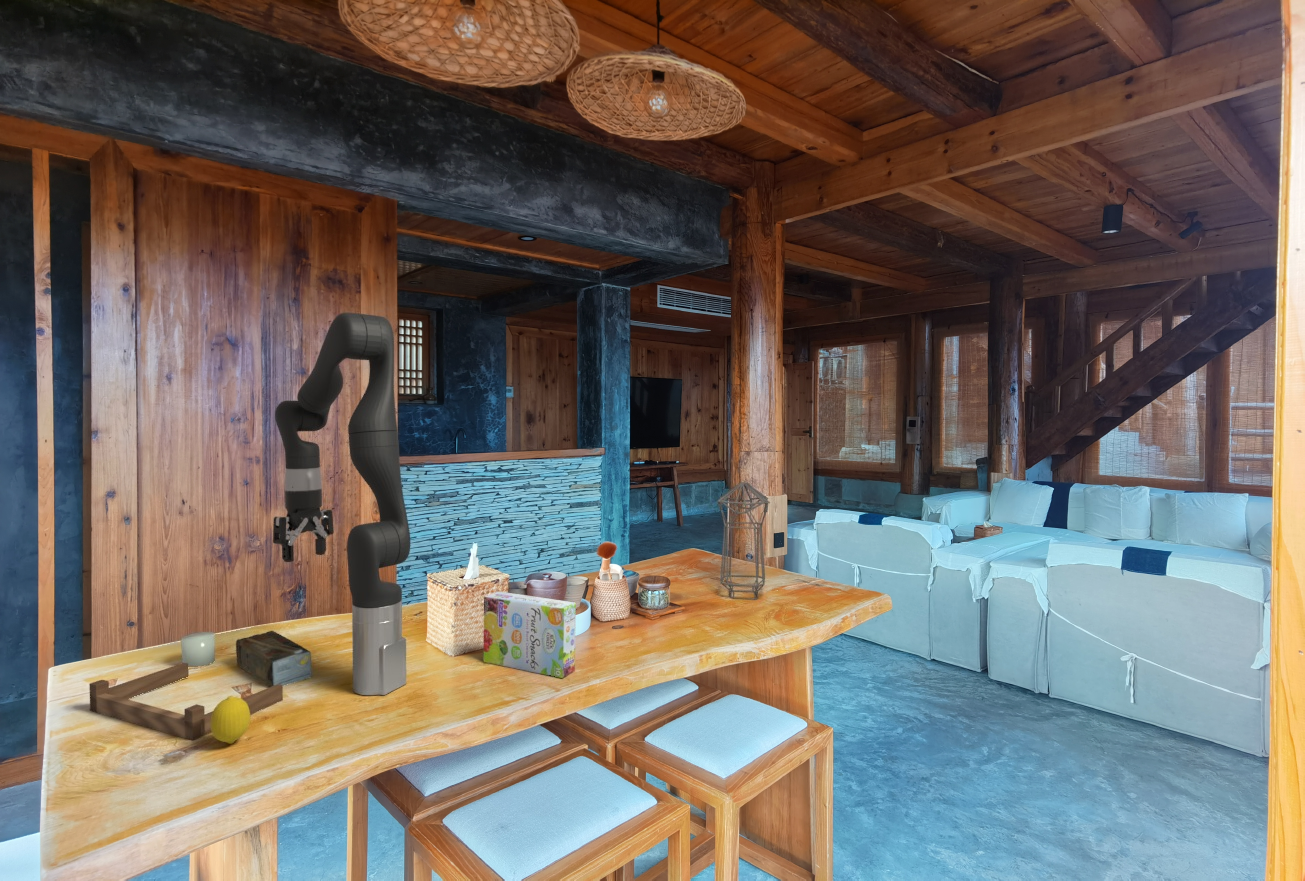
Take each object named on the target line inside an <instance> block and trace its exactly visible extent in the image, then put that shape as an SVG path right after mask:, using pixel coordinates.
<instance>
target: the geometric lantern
mask: <svg viewBox="0 0 1305 881" xmlns="http://www.w3.org/2000/svg"><path fill="white" fill-rule="evenodd" d="M737 490H738V493H737V496H736V498H735V497H730V496H732V495H733V493H735V492H736V491H737ZM749 491H750V492H751V493H752V494H753V495H754V496H755V497H753V498H751V495H750V493H749ZM745 492H746V493H745ZM746 494H747V497H748V499H746ZM732 500H733V501H732ZM753 500H754V501H755V500H757V501H755V502H753ZM749 502H750V503H749ZM770 503H771V502H770V501H769V498H768V497H767V496H766V495H764V494H763V493H762V492H760V491H759V490H757V488H755V487H753V486H752V485H751V484H750V483H749V482H745V481H742V482H739V483H738V484H736V485H734V487H732V488H731V489H729V490H727V492H725V493H723V495H721V496H720V497H719V499H718V500H717V505H718V507H719V510H720V512H721V516H722V521H723V538H722V550H721V553H722V554H721V563H720V564H721V565H720V582H719V583H720V585H722V586H723V587H724V588H726V589H727V590H728V591H729V599H735V600H756V601H757V599H759V591H760V590H762V588H763V587H764V586H765V583H766V572H765V571H766V570H765V569H766V568H765V557H764V556H765V555H764V540H763V539H764V538H763V525H764V524H763V523H764V520H765V516H766V514H767V513H768V510H769V504H770ZM728 504H732V505H734V507H735V509H733V508H732V507H730V505H728ZM723 505H724V506H725V507H726V508H728V509H729V510H730V511H732V512H733V515H732V516H731V518H730V520H729V521H728V520H727V518H726V516H725V513H724V510H723V509H724V508H723ZM761 505H764V507H763V511H762V512H761V513H760V514H761V515H760V517H759V521H758V522H757V519H756V518H755V517H754V515H753V513H752V511H753V510H755V509H757V508H758V507H760V506H761ZM747 506H748V507H747ZM742 509H743V510H744V511H741V510H742ZM740 514H741V515H742V514H747V516H748V518H749V519H750V522H742V521H740V522H739V521H735V520H736V518H737V517H738V515H740ZM751 516H752V517H751ZM752 518H753V519H752ZM734 524H749V525H753V526H752V527H749V526H747V527H746V526H734ZM729 525H730V526H729ZM729 529H730V542H729ZM733 529H749V530H750V529H753V535H754V540H753V541H754V556H755V561H754V562H755V575H745V574H744V575H743V574H731V572H732V553H733V552H732V550H733ZM759 549H760V550H759ZM759 552H760V554H759ZM759 563H760V565H761V575H759V574H760V573H759V571H760V570H759V568H760V567H759V566H760V565H759ZM725 573H726V574H725ZM732 578H756V579H755V581H754V583H753V584H745V583H744V584H743V583H733V581H732ZM759 579H761V581H760V582H759ZM724 580H725V582H724ZM729 580H730V582H729ZM734 587H751V588H752V590H738V589H737V590H734ZM735 593H753V594H754V597H736V596H735Z"/></svg>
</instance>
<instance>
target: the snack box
mask: <svg viewBox="0 0 1305 881" xmlns="http://www.w3.org/2000/svg"><path fill="white" fill-rule="evenodd" d="M576 605H577V603H576V602H575V601H574V602H573V601H567V600H559V599H553V598H547V597H546V598H545V597H542V596H541V597H540V596H534V595H533V596H532V595H527V594H518V593H514V592H513V593H511V592H505V591H495V592H493V593H490V594H487V595H485V596H484V597H483V658H482V659H483V662H484V663H488V664H493V665H498V666H502V667H507V668H511V669H517V670H522V671H525V672H530V673H535V674H539V675H540V674H541V675H545V676H549V675H551V676H550V677H554V676H555V678H558V679H564V678H565V677H567V676H568V675H570V674H572V673H573V671H574V672H575V670H576V620H577V619H576V615H577V614H576V612H577V611H576V610H577V609H576V608H577V607H576ZM571 672H572V673H571ZM566 675H567V676H566Z"/></svg>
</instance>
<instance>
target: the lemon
mask: <svg viewBox="0 0 1305 881" xmlns="http://www.w3.org/2000/svg"><path fill="white" fill-rule="evenodd" d="M212 711H213V713H212V717H211V731H212V732H211V733H212V735H213V737H214V738H215V739H216V740H218V741H220V742H222V743H224V742H225V743H227V744H229V745H232V744H234V743H235V742H236V740H239V739H240V738H242V736H244V735H245V733H247V730H248V729H249V725H250V722H251V715H250V711H249V707H248V705H247V703H246V702H245V701H244V700H243V698H241V697H238V696H237V697H236V696H233V695H230V696H227V697H226V698H224V699H223V700H221V701H220V702H218V704H217V705H216V706H215V707H214V709H213V710H212Z"/></svg>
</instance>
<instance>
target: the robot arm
mask: <svg viewBox="0 0 1305 881" xmlns="http://www.w3.org/2000/svg"><path fill="white" fill-rule="evenodd" d="M346 359H350V360H361V361H368V363H369V364H368V365H369V376H368V383H367V387H366V389H365V391H364V393H363V395H362V397H361V398H360V401H358V404H357V405H356V407H355V409H354V410H353V413H352V414H351V417H350V419H349V422H348V424H347V425H348V426H347V431H348V432H347V433H348V446H349V456H350V460H351V462H352V464H353V466H354V467H355V469H356V470H357V472H358V474H359V475H360V476H361V478H362V479H363V480H364V482H365V483H366V484H367V485H368V487H369V489H370V490H371V491H372V493H373V495H374V497H375V500H376V503H377V507H378V513H379V521H373V522H367V523H362V524H357V525H355V526H353V527H352V528H351V530H350V532H348V533H349V534H348V536H347V541H346V557H347V558H346V560H347V569H348V570H347V572H348V573H347V575H348V586H349V591H350V594H351V604H352V605H351V606H352V608H351V609H352V610H351V611H352V612H351V613H352V614H351V615H352V618H351V619H352V622H351V623H352V625H351V626H352V627H351V628H352V632H351V633H352V637H351V638H352V690H353V692H354V693H355V694H358V695H361V696H362V695H363V696H375V695H380V696H381V695H382V696H386V695H387V694H389V693H391V692H393V691H395V690H397V689H398V688H401V687H403V686H406V685H407V638H406V637H403V590H402V587H401V585H400V584H398V583H394V582H391V581H384V580H381V577H380V569H383V568H387V567H392V566H396V565H401V564H403V563H404V562H405V561H407V559H408V558H409V555H410V552H411V532H410V527H409V526H410V524H409V519H408V515H407V509H406V504H405V499H404V493H403V483H402V476H401V474H402V473H401V464H400V463H401V462H400V444H399V443H400V442H399V432H398V431H399V430H398V422H397V415H396V404H395V403H396V402H395V398H396V397H395V336H394V330H393V327H392V324H391V323H390V321H389V320H388V319H387V318H386V317H385V316H380V315H374V314H367V313H360V312H359V313H356V312H341V313H340V314H338V315H336V316H335V317H334V319H333V320H332V322H331V324H330V325H329V328H328V330H327V332H326V335H325V337H324V340H323V343H322V345H321V348H320V350H319V352H318V356H317V359H316V361H315V364H314V367H313V368H312V370H311V372H310V374H308V375H309V376H307V378H306V380H305V381H304V382H303V384H302V386H301V387H300V388H299V390H298V392H297V396H296V397H297V398H296V400H283V401H281V402H280V403H279V404H277V406H276V408H275V412H274V418H275V423H276V425H277V430H278V432H279V434H280V438H281V441H282V444H283V447H284V457H285V458H284V462H285V463H284V465H285V466H284V467H285V469H284V470H285V472H284V508H285V509H286V511H287V512H286V513H287V514H286V516H274V517H273V531H272V532H273V533H272V534H273V536H272V543H273V544H277V545H280V546H281V558H282V560H283V561H284V562H285V563H292V562H294V554H295V553H294V545H293V544H294V542H295V540H296V539H297V538H298V537H299V536H300V535H301V534H304V533H306V532H310V533H313V535H314V536H315V539H314V541H315V543H314V544H315V546H314V548H315V555H316V556H317V555H318V556H323V555H325V554H326V550H327V538H328V537H329V536H330V535H333V534H334V520H333V518H334V517H333V511H332V509H320V508H322V507H323V489H322V488H323V484H322V482H323V481H322V480H323V479H322V473H321V454H320V453H321V451H320V450H321V449H320V446H319V444H318V443H317V442H313V441H306V440H302V439H301V437H300V436H299V434H298V432H317V431H318V432H319V431H320V430H322V429H324V428H325V427H326V426H327V424H328V420H329V412H330V409H331V408H332V407H331V406H332V405H333V403H334V402H335V400H337V398H338V397H339V395H340V394H341V393H342V390H343V387H344V376H343V373H342V370H341V368H340V364H341V363H342V362H343V361H344V360H346Z"/></svg>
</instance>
